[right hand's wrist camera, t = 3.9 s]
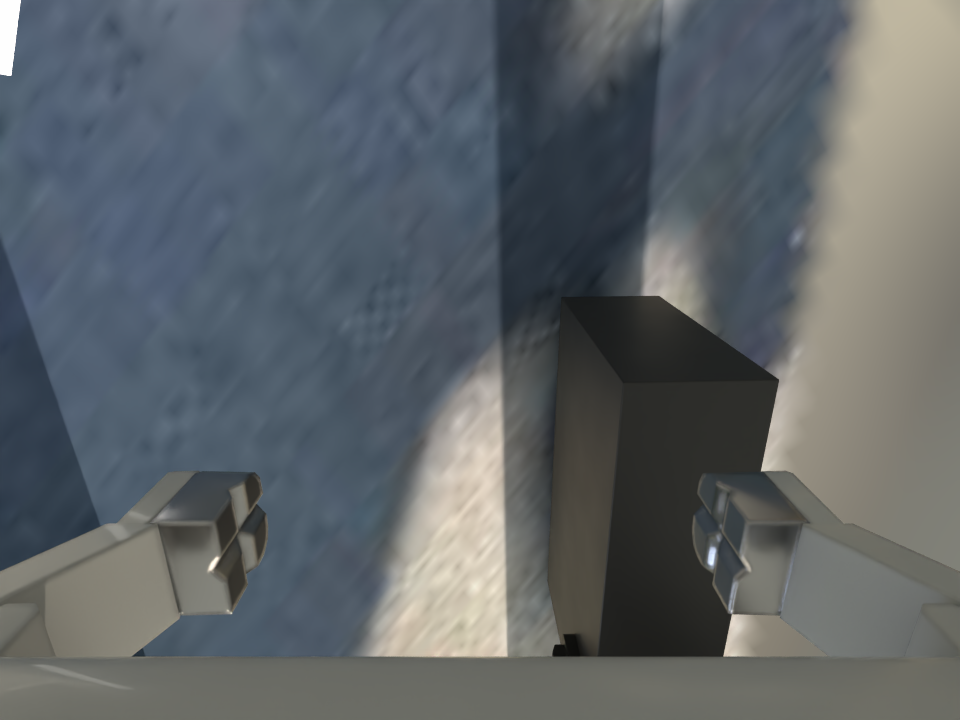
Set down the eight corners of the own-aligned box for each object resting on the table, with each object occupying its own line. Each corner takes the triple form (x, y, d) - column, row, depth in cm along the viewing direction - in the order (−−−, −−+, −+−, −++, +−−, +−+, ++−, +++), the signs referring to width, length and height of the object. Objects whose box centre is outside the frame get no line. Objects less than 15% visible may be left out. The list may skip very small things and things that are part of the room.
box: (561, 296, 32) (623, 382, 20) (659, 295, 32) (780, 379, 20) (547, 580, 39) (586, 769, 27) (627, 578, 39) (701, 764, 27)
